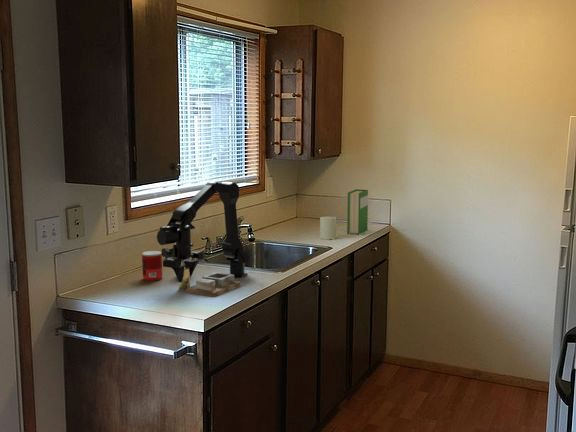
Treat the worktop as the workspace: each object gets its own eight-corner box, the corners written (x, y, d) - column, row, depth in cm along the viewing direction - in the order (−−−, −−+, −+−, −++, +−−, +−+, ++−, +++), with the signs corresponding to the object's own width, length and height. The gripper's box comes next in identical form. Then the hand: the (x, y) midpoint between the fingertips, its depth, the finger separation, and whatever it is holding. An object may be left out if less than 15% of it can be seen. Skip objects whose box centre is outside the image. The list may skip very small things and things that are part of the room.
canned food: (166, 278, 263) (165, 252, 261) (152, 282, 256) (151, 255, 254) (153, 275, 267) (152, 250, 265) (138, 279, 260) (137, 253, 259)
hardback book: (359, 235, 359) (360, 193, 356) (347, 234, 362) (347, 192, 358) (367, 230, 376) (368, 189, 372) (355, 229, 378) (355, 189, 375)
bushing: (183, 286, 249) (182, 266, 248) (192, 287, 247) (192, 267, 246) (176, 289, 246) (175, 268, 244) (185, 290, 243) (185, 270, 242)
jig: (213, 281, 257) (213, 270, 256) (240, 285, 251) (240, 274, 250) (186, 292, 241) (186, 280, 240) (214, 296, 235) (214, 284, 234)
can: (331, 240, 344) (331, 218, 342) (316, 238, 349) (316, 217, 347) (339, 237, 352) (339, 216, 350) (324, 236, 356) (324, 215, 355)
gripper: (181, 235, 256) (182, 273, 258) (150, 243, 239) (152, 283, 242) (204, 238, 250) (205, 276, 253) (174, 246, 234) (175, 287, 236)
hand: (184, 280), depth 246 cm, fingers open, 5 cm apart
